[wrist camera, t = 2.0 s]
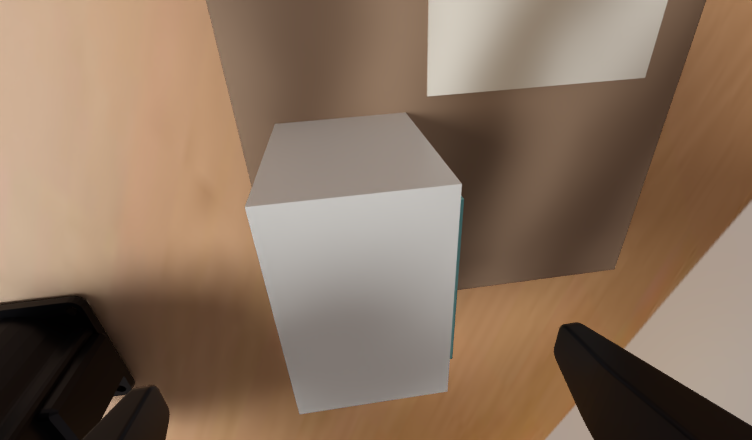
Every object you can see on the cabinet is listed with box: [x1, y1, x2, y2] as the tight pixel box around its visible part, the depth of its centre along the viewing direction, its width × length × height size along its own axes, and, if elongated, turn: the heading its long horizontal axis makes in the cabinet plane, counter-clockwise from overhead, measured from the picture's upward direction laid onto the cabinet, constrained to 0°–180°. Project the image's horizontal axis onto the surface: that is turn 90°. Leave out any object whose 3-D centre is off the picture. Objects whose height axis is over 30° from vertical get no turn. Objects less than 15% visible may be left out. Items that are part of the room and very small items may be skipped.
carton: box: [245, 112, 464, 414], centre depth 12 cm, size 5×7×6 cm
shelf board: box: [206, 0, 706, 290], centre depth 13 cm, size 16×18×3 cm
